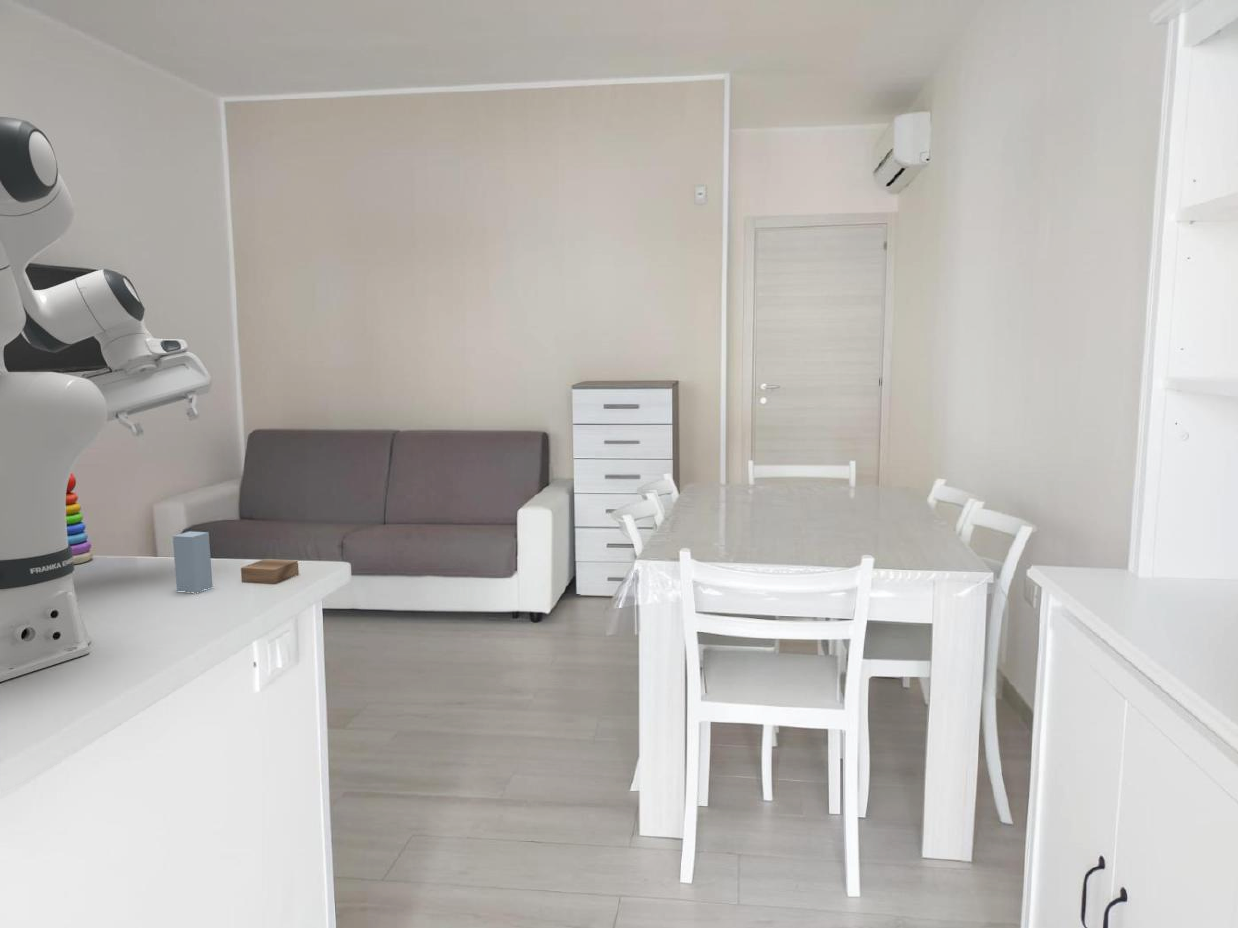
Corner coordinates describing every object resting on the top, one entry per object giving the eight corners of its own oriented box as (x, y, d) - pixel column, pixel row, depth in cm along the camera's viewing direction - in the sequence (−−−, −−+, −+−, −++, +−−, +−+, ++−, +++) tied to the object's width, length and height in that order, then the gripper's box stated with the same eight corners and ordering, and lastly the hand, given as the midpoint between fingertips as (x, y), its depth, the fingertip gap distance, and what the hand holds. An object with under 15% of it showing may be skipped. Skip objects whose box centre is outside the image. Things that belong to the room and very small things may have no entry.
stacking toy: (49, 559, 179) (40, 468, 177) (95, 555, 183) (87, 465, 180) (43, 568, 172) (34, 473, 170) (91, 563, 176) (82, 470, 173)
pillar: (196, 593, 153) (192, 537, 152) (177, 592, 154) (172, 536, 153) (212, 587, 157) (208, 532, 156) (193, 586, 158) (189, 531, 157)
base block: (275, 586, 159) (274, 569, 158) (241, 583, 161) (240, 567, 160) (298, 576, 166) (297, 560, 165) (266, 574, 167) (265, 558, 167)
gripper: (70, 368, 151) (103, 437, 149) (193, 337, 162) (225, 401, 160) (72, 385, 156) (104, 452, 154) (192, 354, 167) (223, 416, 165)
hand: (167, 426), depth 157 cm, fingers open, 8 cm apart
